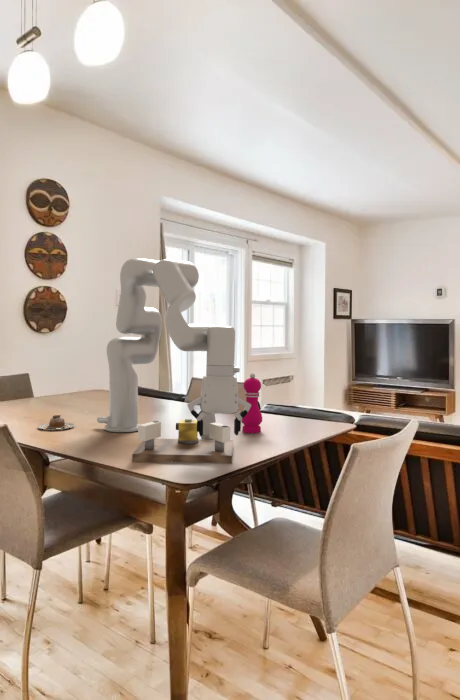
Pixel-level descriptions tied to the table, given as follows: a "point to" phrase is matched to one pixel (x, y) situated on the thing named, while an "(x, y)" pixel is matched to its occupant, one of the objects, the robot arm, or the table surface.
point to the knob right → (219, 435)
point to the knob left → (149, 433)
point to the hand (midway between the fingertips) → (218, 434)
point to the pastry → (56, 423)
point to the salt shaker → (207, 426)
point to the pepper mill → (252, 406)
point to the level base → (184, 448)
